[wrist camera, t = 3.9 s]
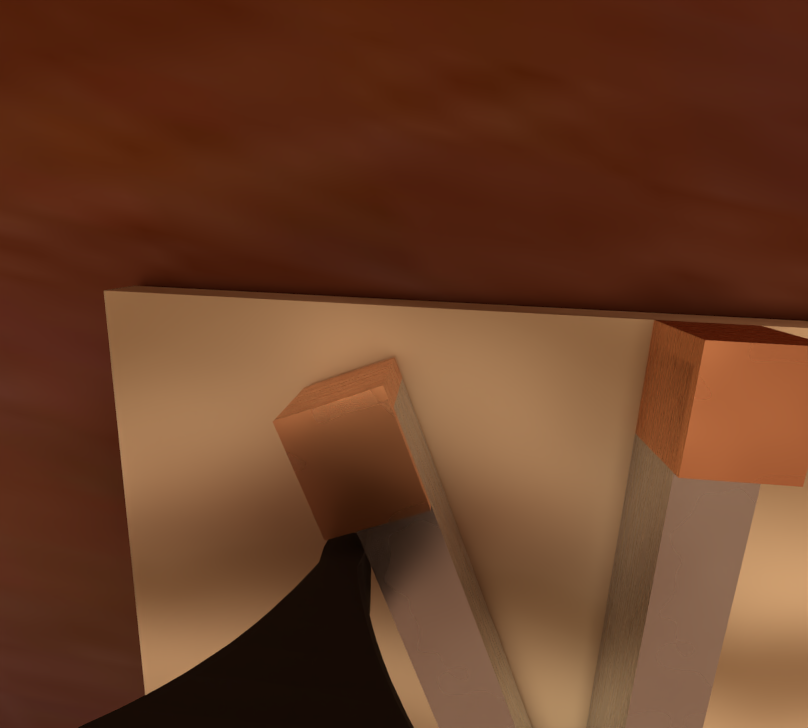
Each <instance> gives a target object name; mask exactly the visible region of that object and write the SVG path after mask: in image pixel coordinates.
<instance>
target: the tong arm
mask: <svg viewBox="0 0 808 728" xmlns="http://www.w3.org/2000/svg"><path fill="white" fill-rule="evenodd" d="M273 424H274V426H275V429H276V431H277V433H278V435H279V438H280V440H281V442H282V445H283V447H284V449H285V451H286V454H287V456H288V458H289V461H290V463H291V465H292V467H293V470H294V472H295V474H296V477H297V479H298V481H299V483H300V486H301V488H302V490H303V493H304V495H305V497H306V499H307V502H308V504H309V506H310V509H311V511H312V513H313V515H314V518H315V520H316V522H317V525H318V527H319V529H320V531H321V534H322V536H323V538H324V541H325V540H328V539H332V538H335V537H339V536H342V535H346V534H349V533H353V532H357V534H358V536H359V539H360V541H361V543H362V546H363V548H364V551H365V553H366V555H367V558H368V560H369V562H370V565H371V567H372V570H373V572H374V574H375V577H376V579H377V582H378V584H379V586H380V589H381V591H382V593H383V596H384V598H385V601H386V603H387V605H388V608H389V610H390V612H391V615H392V617H393V620H394V622H395V624H396V627H397V629H398V631H399V634H400V636H401V639H402V641H403V643H404V646H405V648H406V650H407V653H408V655H409V658H410V660H411V662H412V665H413V667H414V670H415V672H416V674H417V677H418V679H419V681H420V684H421V686H422V689H423V691H424V693H425V696H426V698H427V700H428V703H429V705H430V708H431V710H432V712H433V715H434V717H435V719H436V722H437V724H438V727H439V728H532V725H531V723H530V720H529V717H528V715H527V712H526V709H525V707H524V704H523V701H522V698H521V696H520V693H519V690H518V688H517V685H516V682H515V680H514V677H513V674H512V672H511V669H510V666H509V664H508V661H507V658H506V655H505V653H504V650H503V647H502V645H501V642H500V639H499V637H498V634H497V631H496V629H495V626H494V623H493V620H492V618H491V615H490V612H489V610H488V607H487V604H486V602H485V599H484V596H483V594H482V591H481V588H480V585H479V583H478V580H477V577H476V575H475V572H474V569H473V567H472V564H471V561H470V559H469V556H468V553H467V551H466V548H465V545H464V542H463V540H462V537H461V534H460V532H459V529H458V526H457V524H456V521H455V518H454V516H453V513H452V510H451V507H450V505H449V502H448V499H447V497H446V494H445V491H444V489H443V486H442V483H441V481H440V478H439V475H438V472H437V470H436V467H435V464H434V462H433V459H432V456H431V454H430V451H429V448H428V446H427V443H426V440H425V438H424V435H423V432H422V429H421V427H420V424H419V421H418V419H417V416H416V413H415V411H414V408H413V405H412V403H411V400H410V397H409V394H408V392H407V389H406V386H405V384H404V381H403V378H402V376H401V373H400V370H399V368H398V365H397V362H396V359H395V357H394V358H391V359H388V360H385V361H382V362H379V363H376V364H373V365H370V366H367V367H364V368H361V369H358V370H355V371H352V372H349V373H346V374H343V375H340V376H337V377H334V378H331V379H328V380H325V381H322V382H319V383H316V384H313V385H310V386H307V387H304V388H303V389H302V390H301V391H300V393H299V394H298V395H297V396H296V397H295V398H294V399H293V400H292V401H291V402H290V403H289V404H288V406H287V407H286V408H285V409H284V410H283V411H282V412H281V413H280V414H279V415H278V416H277V417H276V418H275V420H274V421H273Z"/></svg>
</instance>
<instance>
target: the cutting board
mask: <svg viewBox="0 0 808 728" xmlns="http://www.w3.org/2000/svg"><path fill="white" fill-rule="evenodd" d="M104 298H105V308H106V318H107V328H108V337H109V347H110V357H111V367H112V376H113V386H114V396H115V405H116V415H117V425H118V435H119V444H120V454H121V464H122V474H123V483H124V493H125V503H126V513H127V522H128V532H129V542H130V551H131V561H132V571H133V581H134V590H135V600H136V610H137V620H138V629H139V639H140V649H141V658H142V668H143V678H144V688H145V695H147V694H148V693H150V692H152V691H154V690H156V689H158V688H160V687H161V686H163V685H165V684H167V683H168V682H170V681H172V680H173V679H175V678H177V677H179V676H180V675H182V674H184V673H185V672H187V671H189V670H190V669H192V668H193V667H195V666H196V665H198V664H199V663H201V662H202V661H204V660H205V659H207V658H208V657H210V656H211V655H213V654H215V653H216V652H218V651H219V650H221V649H222V648H224V647H225V646H227V645H228V644H229V643H231V642H232V641H233V640H235V639H236V638H237V637H239V636H240V635H241V634H243V633H244V632H245V631H246V630H248V629H249V628H250V627H251V626H253V625H254V624H255V623H256V622H257V621H259V620H260V619H261V618H262V617H263V616H265V615H266V614H267V613H268V612H269V611H270V610H271V609H272V608H273V607H275V606H276V605H277V604H278V603H279V602H280V601H281V600H282V599H283V598H284V597H285V596H286V595H287V594H288V593H290V592H291V591H292V590H293V589H294V588H295V587H296V586H297V585H298V584H299V583H300V582H301V581H302V579H303V578H304V577H305V576H306V575H307V574H308V573H309V572H310V571H311V570H312V569H313V568H314V567H315V566H316V565H317V564H318V562H319V561H320V557H321V554H322V551H323V548H324V546H325V544H326V542H327V541H328V540H325V541H324V538H323V536H322V534H321V531H320V529H319V527H318V525H317V522H316V520H315V518H314V515H313V513H312V511H311V509H310V506H309V504H308V502H307V499H306V497H305V495H304V493H303V490H302V488H301V486H300V483H299V481H298V479H297V477H296V474H295V472H294V470H293V467H292V465H291V463H290V461H289V458H288V456H287V454H286V451H285V449H284V447H283V445H282V442H281V440H280V438H279V435H278V433H277V431H276V429H275V426H274V424H273V421H274V420H275V418H276V417H277V416H278V415H279V414H280V413H281V412H282V411H283V410H284V409H285V408H286V407H287V406H288V404H289V403H290V402H291V401H292V400H293V399H294V398H295V397H296V396H297V395H298V394H299V393H300V391H301V390H302V389H303V388H304V387H307V386H310V385H313V384H316V383H319V382H322V381H325V380H328V379H331V378H334V377H337V376H340V375H343V374H346V373H349V372H352V371H355V370H358V369H361V368H364V367H367V366H370V365H373V364H376V363H379V362H382V361H385V360H388V359H391V358H394V357H395V359H396V362H397V365H398V368H399V370H400V373H401V376H402V378H403V381H404V384H405V386H406V389H407V392H408V394H409V397H410V400H411V403H412V405H413V408H414V411H415V413H416V416H417V419H418V421H419V424H420V427H421V429H422V432H423V435H424V438H425V440H426V443H427V446H428V448H429V451H430V454H431V456H432V459H433V462H434V464H435V467H436V470H437V472H438V475H439V478H440V481H441V483H442V486H443V489H444V491H445V494H446V497H447V499H448V502H449V505H450V507H451V510H452V513H453V516H454V518H455V521H456V524H457V526H458V529H459V532H460V534H461V537H462V540H463V542H464V545H465V548H466V551H467V553H468V556H469V559H470V561H471V564H472V567H473V569H474V572H475V575H476V577H477V580H478V583H479V585H480V588H481V591H482V594H483V596H484V599H485V602H486V604H487V607H488V610H489V612H490V615H491V618H492V620H493V623H494V626H495V629H496V631H497V634H498V637H499V639H500V642H501V645H502V647H503V650H504V653H505V655H506V658H507V661H508V664H509V666H510V669H511V672H512V674H513V677H514V680H515V682H516V685H517V688H518V690H519V693H520V696H521V698H522V701H523V704H524V707H525V709H526V712H527V715H528V717H529V720H530V723H531V725H532V728H586V726H587V720H588V714H589V708H590V702H591V696H592V690H593V684H594V678H595V672H596V666H597V660H598V653H599V647H600V641H601V635H602V629H603V623H604V617H605V611H606V605H607V599H608V593H609V587H610V581H611V575H612V569H613V563H614V557H615V551H616V545H617V539H618V533H619V527H620V521H621V515H622V509H623V503H624V497H625V491H626V485H627V479H628V473H629V467H630V461H631V455H632V449H633V443H634V437H635V431H636V425H637V419H638V413H639V407H640V401H641V395H642V389H643V383H644V377H645V371H646V365H647V359H648V353H649V347H650V341H651V335H652V329H653V323H654V320H665V321H684V322H703V323H721V324H740V325H759V326H764V327H768V328H771V329H775V330H778V331H782V332H785V333H789V334H793V335H796V336H800V337H803V338H807V339H808V321H798V320H779V319H760V318H741V317H722V316H703V315H684V314H665V313H646V312H627V311H608V310H589V309H570V308H551V307H532V306H513V305H494V304H475V303H456V302H437V301H418V300H399V299H380V298H361V297H341V296H322V295H303V294H284V293H265V292H246V291H227V290H208V289H189V288H170V287H151V286H129V287H123V288H116V289H110V290H104ZM353 533H357V532H353ZM370 618H371V622H372V626H373V630H374V633H375V637H376V640H377V643H378V646H379V649H380V652H381V655H382V658H383V661H384V663H385V666H386V668H387V671H388V674H389V676H390V679H391V681H392V683H393V685H394V687H395V690H396V692H397V694H398V696H399V698H400V700H401V703H402V705H403V707H404V709H405V711H406V713H407V715H408V717H409V719H410V721H411V723H412V725H413V727H414V728H439V727H438V724H437V722H436V719H435V717H434V715H433V712H432V710H431V708H430V705H429V703H428V700H427V698H426V696H425V693H424V691H423V689H422V686H421V684H420V681H419V679H418V677H417V674H416V672H415V670H414V667H413V665H412V662H411V660H410V658H409V655H408V653H407V650H406V648H405V646H404V643H403V641H402V639H401V636H400V634H399V631H398V629H397V627H396V624H395V622H394V620H393V617H392V615H391V612H390V610H389V608H388V605H387V603H386V601H385V598H384V596H383V593H382V591H381V589H380V586H379V584H378V582H377V579H376V577H375V574H374V572H373V570H372V567H371V603H370ZM703 728H808V469H807V473H806V477H805V481H804V485H803V487H797V486H783V485H770V484H761V486H760V490H759V494H758V498H757V502H756V507H755V511H754V515H753V519H752V523H751V528H750V532H749V536H748V540H747V544H746V549H745V553H744V557H743V561H742V565H741V570H740V574H739V578H738V582H737V586H736V591H735V595H734V599H733V603H732V607H731V612H730V616H729V620H728V624H727V628H726V633H725V637H724V641H723V645H722V649H721V654H720V658H719V662H718V666H717V670H716V675H715V679H714V683H713V687H712V691H711V696H710V700H709V704H708V708H707V712H706V717H705V721H704V725H703Z"/></svg>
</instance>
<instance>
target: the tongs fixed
mask: <svg viewBox="0 0 808 728" xmlns="http://www.w3.org/2000/svg"><path fill="white" fill-rule="evenodd" d="M807 469H808V339H807V338H803V337H800V336H796V335H793V334H789V333H785V332H782V331H778V330H775V329H771V328H768V327H764V326H759V325H740V324H721V323H703V322H684V321H665V320H654V323H653V329H652V335H651V341H650V347H649V353H648V359H647V365H646V371H645V377H644V383H643V389H642V395H641V401H640V407H639V413H638V419H637V425H636V431H635V437H634V443H633V449H632V455H631V461H630V467H629V473H628V479H627V485H626V491H625V497H624V503H623V509H622V515H621V521H620V527H619V533H618V539H617V545H616V551H615V557H614V563H613V569H612V575H611V581H610V587H609V593H608V599H607V605H606V611H605V617H604V623H603V629H602V635H601V641H600V647H599V653H598V660H597V666H596V672H595V678H594V684H593V690H592V696H591V702H590V708H589V714H588V720H587V726H586V728H703V725H704V721H705V717H706V712H707V708H708V704H709V700H710V696H711V691H712V687H713V683H714V679H715V675H716V670H717V666H718V662H719V658H720V654H721V649H722V645H723V641H724V637H725V633H726V628H727V624H728V620H729V616H730V612H731V607H732V603H733V599H734V595H735V591H736V586H737V582H738V578H739V574H740V570H741V565H742V561H743V557H744V553H745V549H746V544H747V540H748V536H749V532H750V528H751V523H752V519H753V515H754V511H755V507H756V502H757V498H758V494H759V490H760V486H761V484H770V485H783V486H797V487H803V485H804V481H805V477H806V473H807Z"/></svg>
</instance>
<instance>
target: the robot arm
mask: <svg viewBox="0 0 808 728" xmlns="http://www.w3.org/2000/svg"><path fill="white" fill-rule="evenodd" d="M370 603H371V565H370V562H369V560H368V558H367V555H366V553H365V551H364V548H363V546H362V543H361V541H360V539H359V536H358V534H357V533H349V534H346V535H342V536H339V537H335V538H332V539H328V541H327V542H326V544H325V546H324V548H323V551H322V554H321V557H320V561H319V562H318V564H317V565H316V566H315V567H314V568H313V569H312V570H311V571H310V572H309V573H308V574H307V575H306V576H305V577H304V578H303V579H302V581H301V582H300V583H299V584H298V585H297V586H296V587H295V588H294V589H293V590H292V591H291V592H290V593H288V594H287V595H286V596H285V597H284V598H283V599H282V600H281V601H280V602H279V603H278V604H277V605H276V606H275V607H273V608H272V609H271V610H270V611H269V612H268V613H267V614H266V615H265V616H263V617H262V618H261V619H260V620H259V621H257V622H256V623H255V624H254V625H253V626H251V627H250V628H249V629H248V630H246V631H245V632H244V633H243V634H241V635H240V636H239V637H237V638H236V639H235V640H233V641H232V642H231V643H229V644H228V645H227V646H225V647H224V648H222V649H221V650H219V651H218V652H216V653H215V654H213V655H211V656H210V657H208V658H207V659H205V660H204V661H202V662H201V663H199V664H198V665H196V666H195V667H193V668H192V669H190V670H189V671H187V672H185V673H184V674H182V675H180V676H179V677H177V678H175V679H173V680H172V681H170V682H168V683H167V684H165V685H163V686H161V687H160V688H158V689H156V690H154V691H152V692H150V693H148V694H147V695H145V696H143V697H141V698H139V699H137V700H135V701H133V702H131V703H129V704H127V705H125V706H123V707H121V708H119V709H117V710H115V711H113V712H111V713H109V714H106V715H104V716H102V717H100V718H98V719H96V720H93V721H91V722H89V723H87V724H85V725H83V726H80V727H78V728H414V727H413V725H412V723H411V721H410V719H409V717H408V715H407V713H406V711H405V709H404V707H403V705H402V703H401V700H400V698H399V696H398V694H397V692H396V690H395V687H394V685H393V683H392V681H391V679H390V676H389V674H388V671H387V668H386V666H385V663H384V661H383V658H382V655H381V652H380V649H379V646H378V643H377V640H376V637H375V633H374V630H373V626H372V622H371V618H370Z"/></svg>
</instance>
